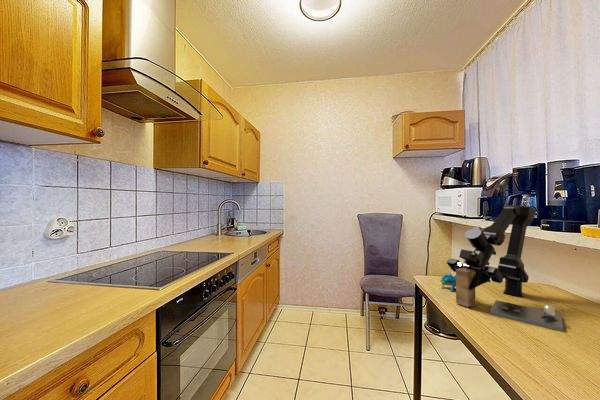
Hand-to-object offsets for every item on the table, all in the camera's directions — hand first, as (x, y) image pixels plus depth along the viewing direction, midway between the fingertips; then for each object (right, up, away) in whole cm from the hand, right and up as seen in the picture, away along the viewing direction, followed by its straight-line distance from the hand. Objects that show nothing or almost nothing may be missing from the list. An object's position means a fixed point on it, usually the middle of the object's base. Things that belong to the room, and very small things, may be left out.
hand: (463, 287), depth 98 cm
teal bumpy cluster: (+7, -8, +19) cm, 22 cm away
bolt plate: (+16, -7, -8) cm, 20 cm away
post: (+1, -7, 0) cm, 7 cm away
